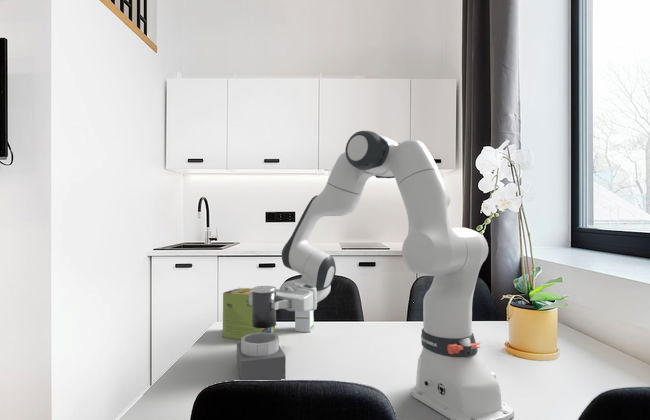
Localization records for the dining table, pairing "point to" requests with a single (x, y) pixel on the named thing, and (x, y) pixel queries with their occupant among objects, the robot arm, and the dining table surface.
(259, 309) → the dark grey metallic cylinder
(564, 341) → the dining table surface
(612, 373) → the dining table surface
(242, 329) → the protein box
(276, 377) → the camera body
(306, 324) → the syrup box
